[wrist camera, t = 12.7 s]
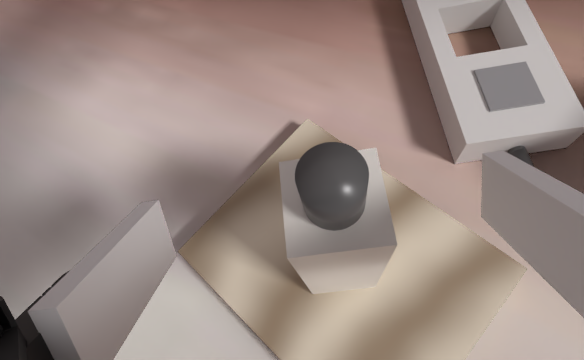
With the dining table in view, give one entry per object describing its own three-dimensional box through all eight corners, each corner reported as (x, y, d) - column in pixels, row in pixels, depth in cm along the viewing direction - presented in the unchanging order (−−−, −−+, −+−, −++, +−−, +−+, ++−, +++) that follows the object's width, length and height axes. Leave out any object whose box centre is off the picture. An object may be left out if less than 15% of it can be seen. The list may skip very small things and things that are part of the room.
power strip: (590, 196, 25) (627, 174, 21) (470, 212, 25) (488, 194, 22) (480, -32, 35) (493, -71, 31) (396, -16, 35) (401, -53, 32)
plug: (375, 287, 23) (407, 224, 11) (312, 294, 23) (275, 241, 11) (364, 226, 24) (381, 113, 12) (306, 233, 25) (267, 131, 13)
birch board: (516, 273, 23) (527, 268, 22) (385, 463, 20) (387, 472, 19) (309, 128, 30) (307, 118, 29) (186, 256, 27) (177, 251, 26)
